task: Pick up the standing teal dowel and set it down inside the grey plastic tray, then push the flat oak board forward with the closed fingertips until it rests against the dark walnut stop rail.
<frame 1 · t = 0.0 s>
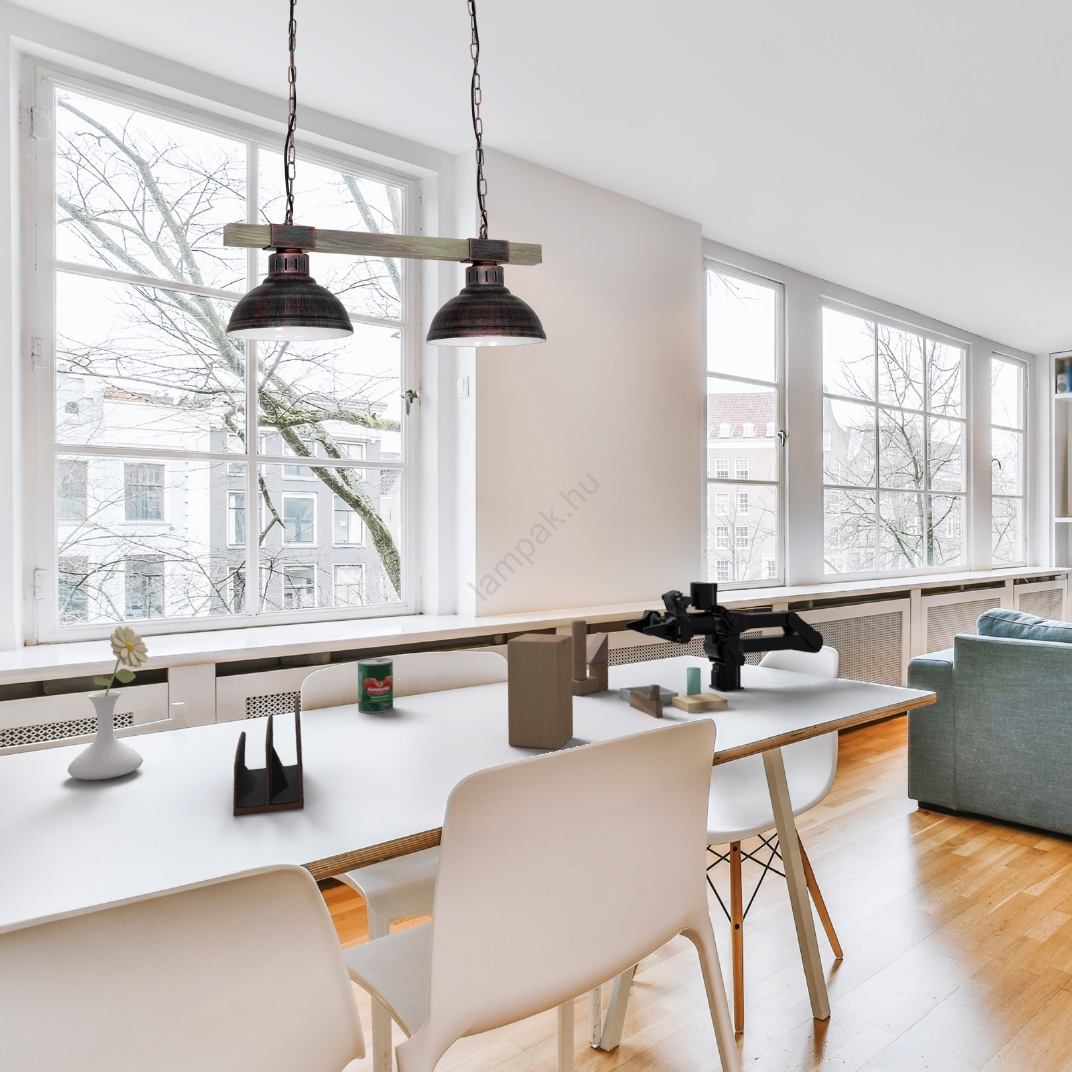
hand: (634, 628, 195), 17 cm above the table, tool horizontal, fingers open, 9 cm apart
tray: (648, 701, 191), on the table
canned tomato: (375, 710, 186), on the table
board: (699, 709, 185), on the table
stop rail: (646, 711, 181), on the table
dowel: (693, 697, 194), on the table
letter holder: (270, 794, 130), on the table
flower in vase: (110, 775, 140), on the table
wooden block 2: (589, 692, 202), on the table
wooden block: (541, 742, 157), on the table
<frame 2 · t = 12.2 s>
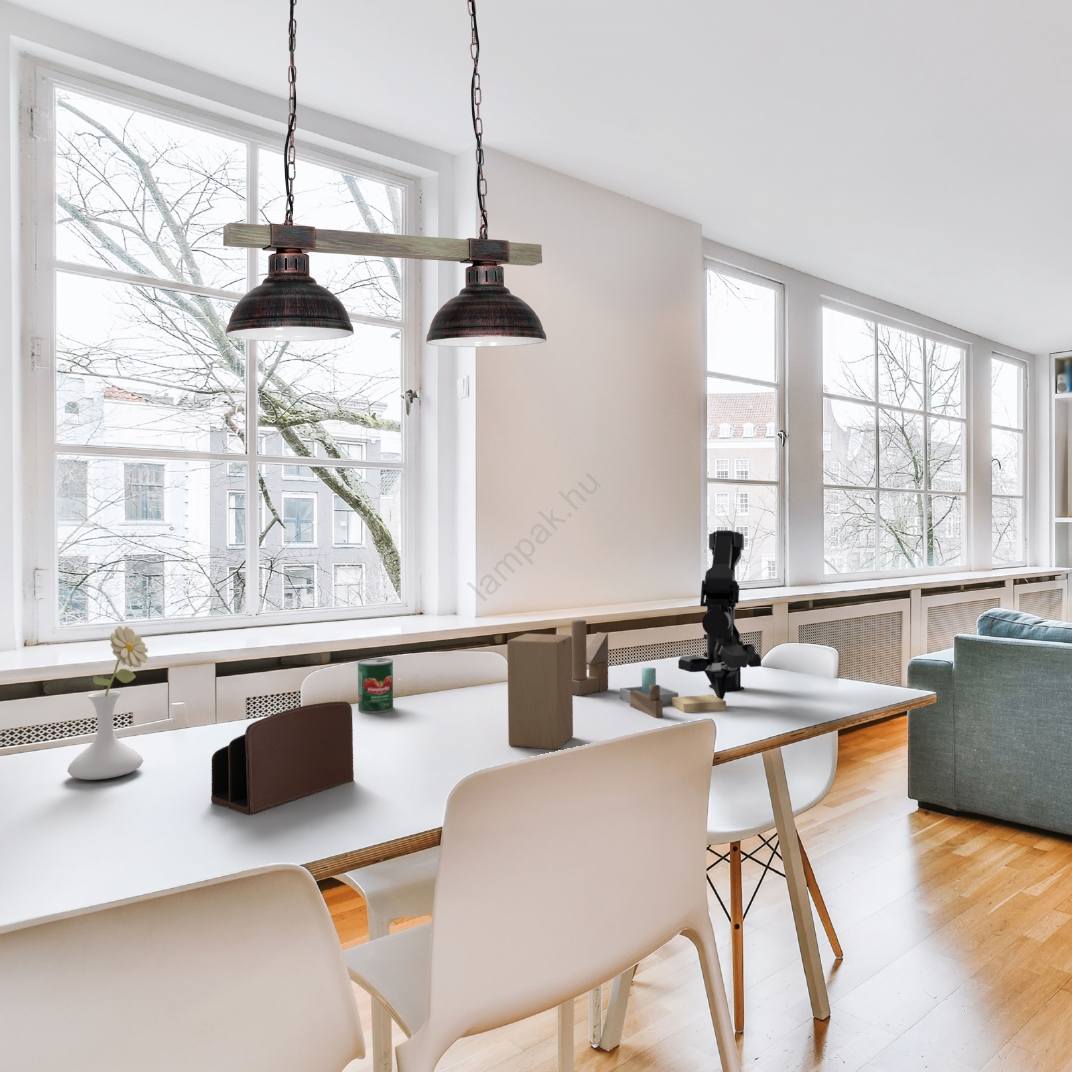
hand: (720, 699, 186), 1 cm above the table, tool pointing down, fingers closed
board: (698, 710, 184), on the table, touching gripper
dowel: (649, 698, 191), point 1 cm above the table, touching tray
letter holder: (285, 793, 130), on the table
everything else where it was.
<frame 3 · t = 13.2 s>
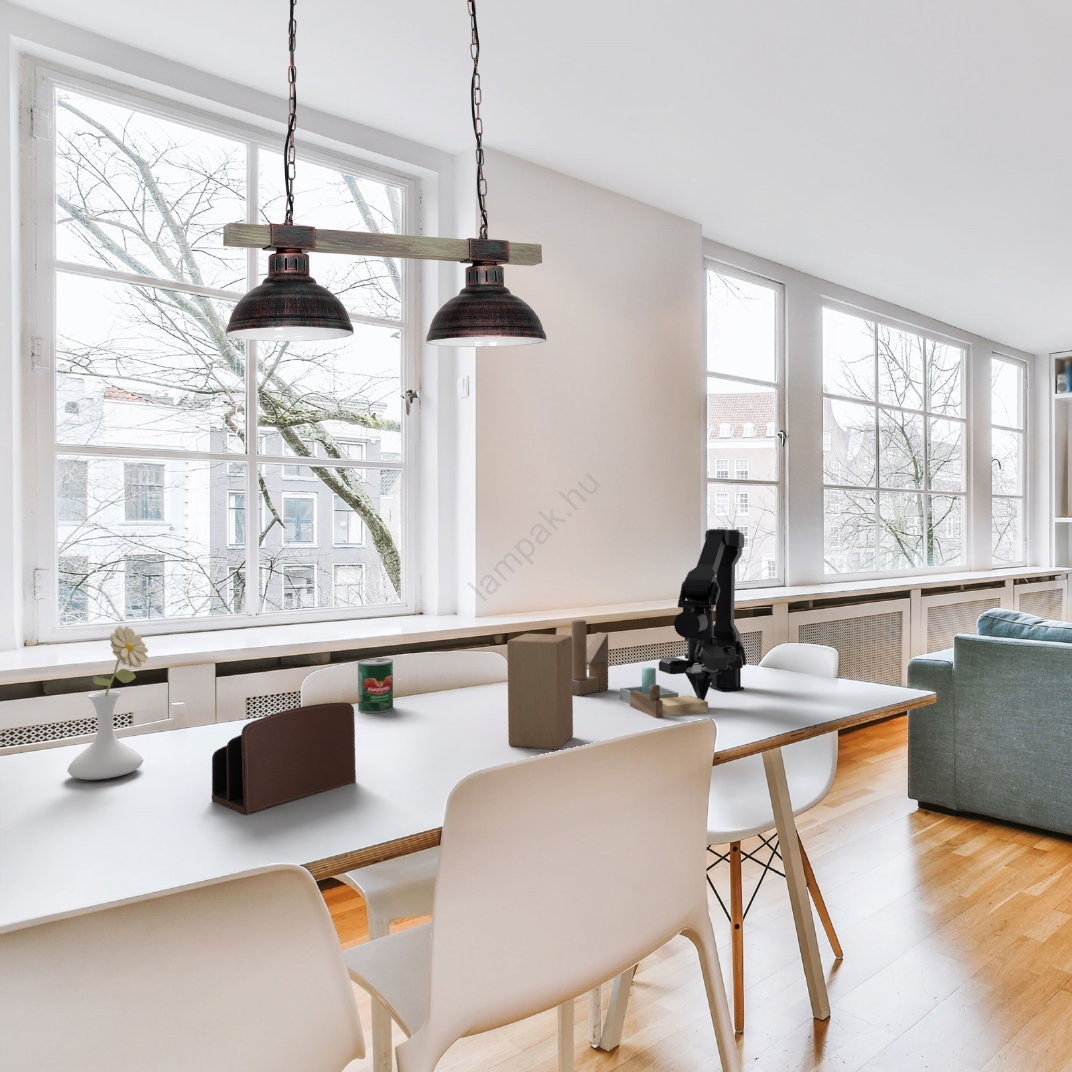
hand: (701, 701, 185), 1 cm above the table, tool pointing down, fingers closed
board: (680, 711, 182), on the table, touching gripper
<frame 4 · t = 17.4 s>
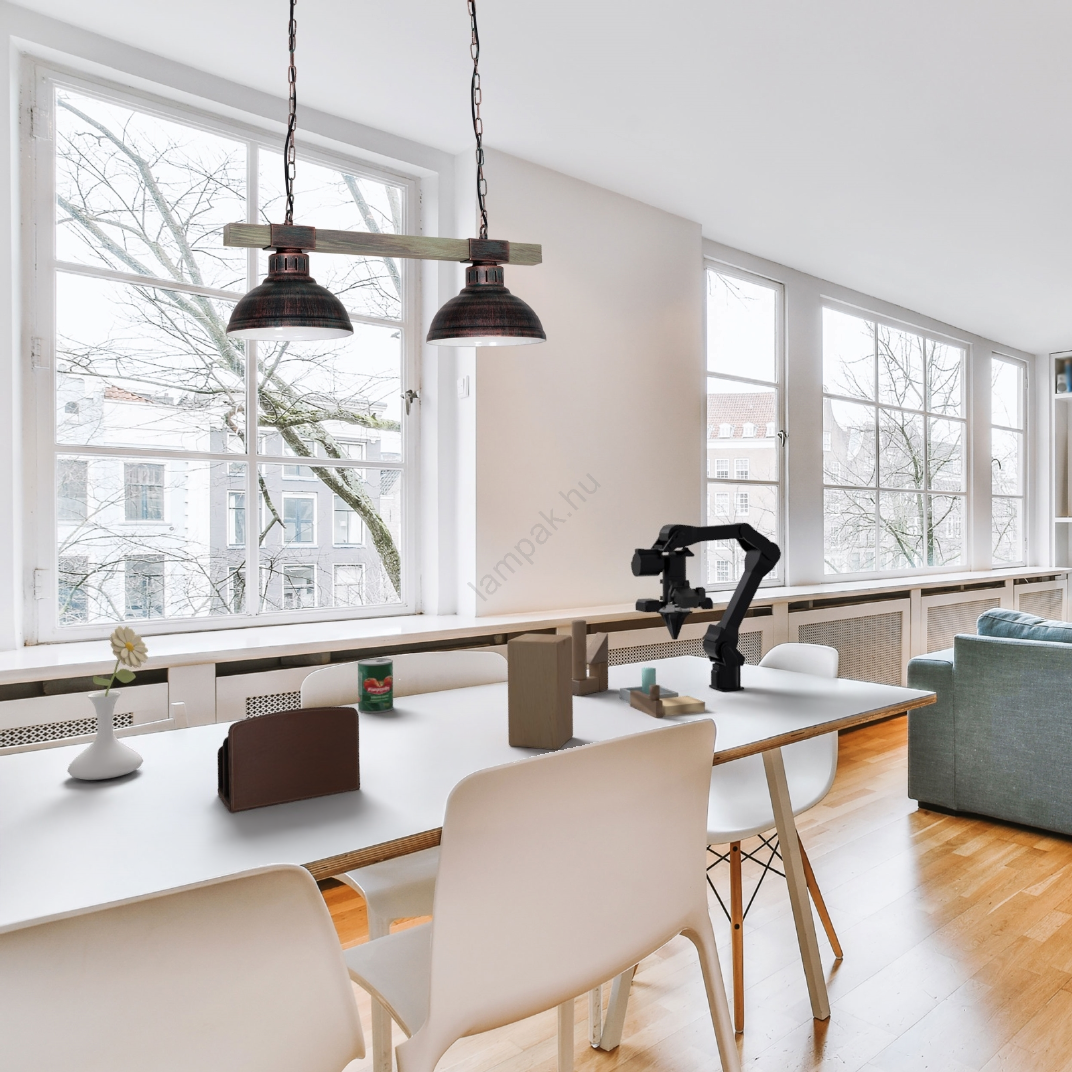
hand: (674, 639, 200), 13 cm above the table, tool pointing down, fingers closed
board: (676, 712, 182), on the table
at the end: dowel inside the target area on the tray (0.1 cm from its centre), point 0.6 cm above the tray's base; the gripper is holding nothing; board 1.3 cm from the target spot, on the table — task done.
